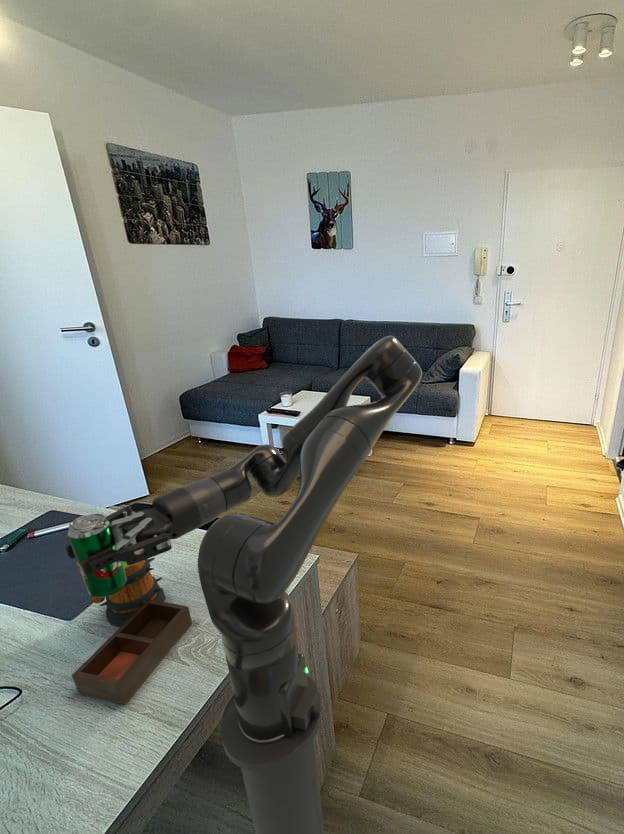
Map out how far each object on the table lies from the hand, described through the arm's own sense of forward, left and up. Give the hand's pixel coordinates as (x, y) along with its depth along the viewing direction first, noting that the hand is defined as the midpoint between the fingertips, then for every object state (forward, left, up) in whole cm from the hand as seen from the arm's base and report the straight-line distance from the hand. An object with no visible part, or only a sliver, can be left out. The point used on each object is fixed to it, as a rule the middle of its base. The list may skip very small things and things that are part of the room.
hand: (75, 559), depth 61 cm
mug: (+7, -11, -21) cm, 25 cm away
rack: (-2, -3, -22) cm, 22 cm away
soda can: (-1, -2, -7) cm, 8 cm away
